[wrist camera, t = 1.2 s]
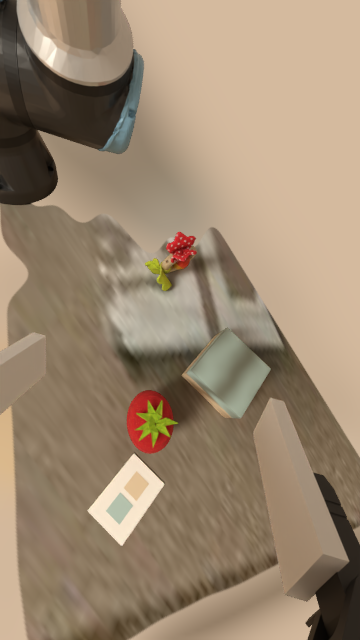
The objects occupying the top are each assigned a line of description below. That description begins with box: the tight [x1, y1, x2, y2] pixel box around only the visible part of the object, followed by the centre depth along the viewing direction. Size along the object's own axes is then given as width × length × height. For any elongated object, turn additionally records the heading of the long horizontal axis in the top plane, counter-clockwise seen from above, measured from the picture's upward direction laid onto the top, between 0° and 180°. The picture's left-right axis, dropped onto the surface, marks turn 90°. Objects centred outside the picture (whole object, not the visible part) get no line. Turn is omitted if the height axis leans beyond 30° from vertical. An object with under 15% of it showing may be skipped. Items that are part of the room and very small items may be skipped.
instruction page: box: [88, 454, 164, 546], centre depth 30 cm, size 6×8×1 cm
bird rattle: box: [145, 232, 197, 291], centre depth 41 cm, size 6×11×9 cm
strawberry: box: [127, 390, 178, 454], centre depth 30 cm, size 6×8×10 cm
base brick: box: [182, 327, 271, 418], centre depth 39 cm, size 10×10×5 cm
